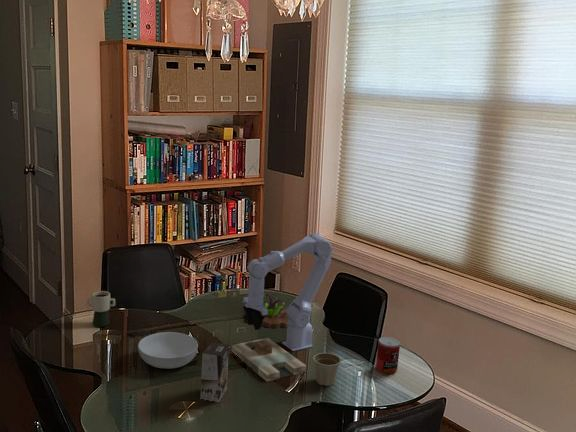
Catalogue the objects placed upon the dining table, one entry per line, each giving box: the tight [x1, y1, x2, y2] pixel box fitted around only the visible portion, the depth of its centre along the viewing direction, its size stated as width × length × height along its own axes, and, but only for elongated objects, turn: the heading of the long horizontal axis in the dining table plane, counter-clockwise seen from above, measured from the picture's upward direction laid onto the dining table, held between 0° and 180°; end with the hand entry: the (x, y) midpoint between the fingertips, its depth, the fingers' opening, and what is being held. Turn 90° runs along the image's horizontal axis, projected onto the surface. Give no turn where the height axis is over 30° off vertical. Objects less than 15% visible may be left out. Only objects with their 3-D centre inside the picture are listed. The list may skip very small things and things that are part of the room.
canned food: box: [375, 336, 401, 375], centre depth 236 cm, size 8×8×11 cm
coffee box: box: [200, 342, 230, 403], centre depth 210 cm, size 9×6×16 cm
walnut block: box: [255, 340, 272, 355], centre depth 239 cm, size 4×4×4 cm
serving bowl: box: [137, 331, 199, 370], centre depth 231 cm, size 21×21×7 cm
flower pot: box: [313, 352, 342, 387], centre depth 224 cm, size 9×9×9 cm
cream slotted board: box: [230, 337, 307, 382], centre depth 237 cm, size 16×26×2 cm, turn 33°
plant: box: [246, 293, 288, 329], centre depth 276 cm, size 20×20×11 cm
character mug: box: [86, 290, 116, 328], centre depth 258 cm, size 11×7×13 cm, turn 97°
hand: (254, 326), depth 244 cm, fingers open, 4 cm apart
